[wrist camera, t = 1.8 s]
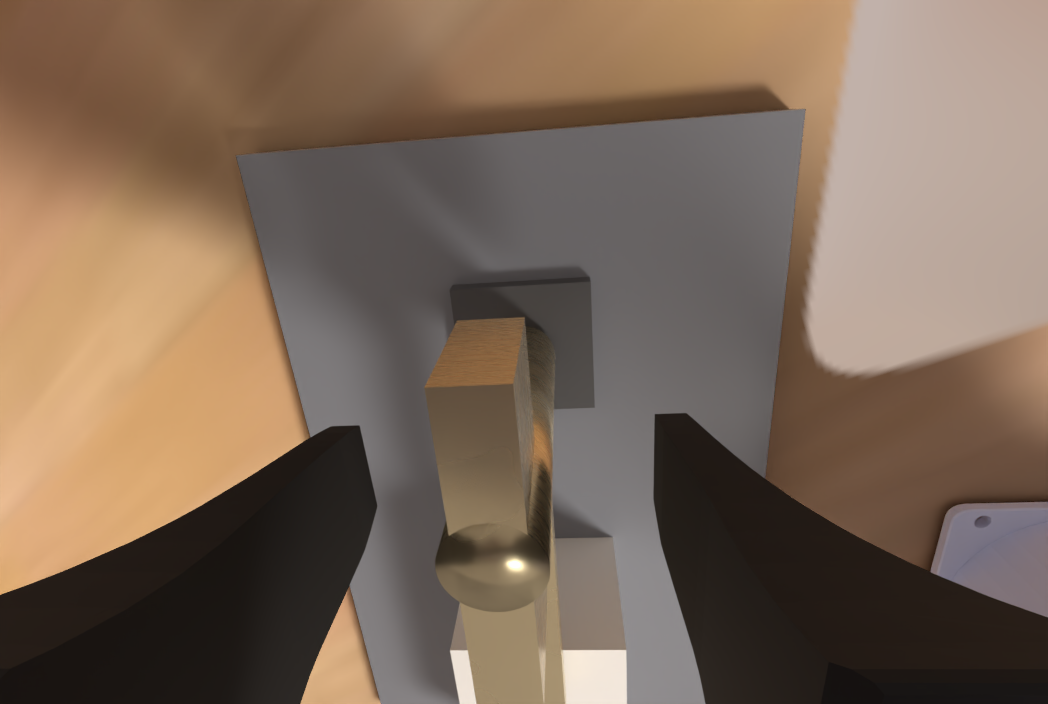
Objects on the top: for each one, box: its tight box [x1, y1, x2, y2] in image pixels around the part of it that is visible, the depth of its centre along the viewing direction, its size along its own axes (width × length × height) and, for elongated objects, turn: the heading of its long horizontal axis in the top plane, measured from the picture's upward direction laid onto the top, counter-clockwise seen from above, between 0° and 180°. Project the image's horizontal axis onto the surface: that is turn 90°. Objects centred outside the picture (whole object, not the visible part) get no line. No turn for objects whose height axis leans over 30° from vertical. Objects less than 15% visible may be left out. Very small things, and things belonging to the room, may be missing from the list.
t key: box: [424, 317, 566, 704], centre depth 14 cm, size 2×12×8 cm, turn 4°
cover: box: [450, 537, 627, 704], centre depth 20 cm, size 5×10×4 cm, turn 4°
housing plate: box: [236, 109, 805, 704], centre depth 20 cm, size 15×24×2 cm, turn 4°
